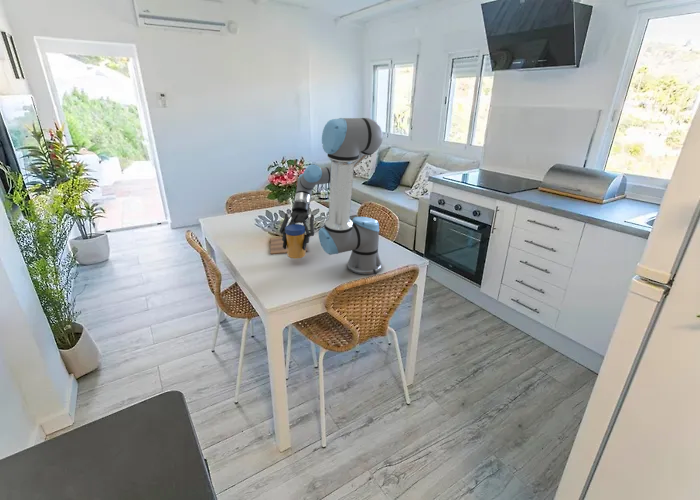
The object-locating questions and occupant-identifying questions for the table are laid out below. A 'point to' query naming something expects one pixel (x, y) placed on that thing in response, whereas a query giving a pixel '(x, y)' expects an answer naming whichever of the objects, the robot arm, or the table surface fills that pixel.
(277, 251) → the mat
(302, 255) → the jar
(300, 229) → the lid
